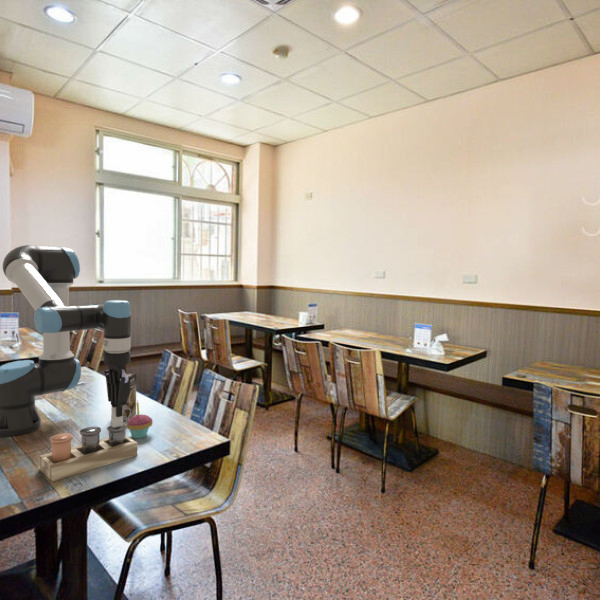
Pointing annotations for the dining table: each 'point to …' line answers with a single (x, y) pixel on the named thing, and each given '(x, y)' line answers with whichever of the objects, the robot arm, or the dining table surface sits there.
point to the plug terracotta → (61, 447)
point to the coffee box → (130, 398)
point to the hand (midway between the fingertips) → (117, 425)
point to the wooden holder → (87, 459)
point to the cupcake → (139, 424)
